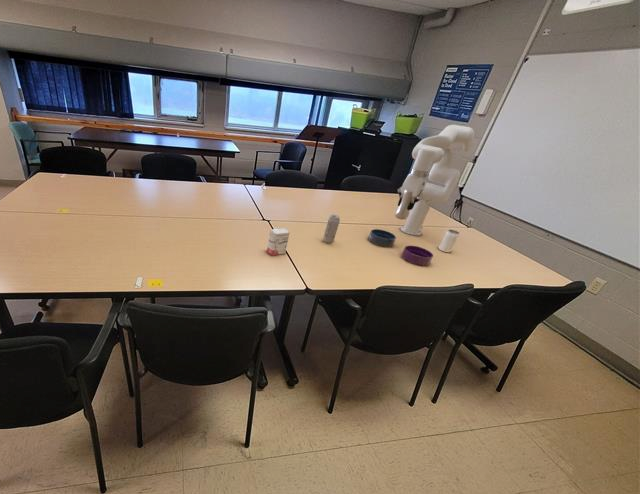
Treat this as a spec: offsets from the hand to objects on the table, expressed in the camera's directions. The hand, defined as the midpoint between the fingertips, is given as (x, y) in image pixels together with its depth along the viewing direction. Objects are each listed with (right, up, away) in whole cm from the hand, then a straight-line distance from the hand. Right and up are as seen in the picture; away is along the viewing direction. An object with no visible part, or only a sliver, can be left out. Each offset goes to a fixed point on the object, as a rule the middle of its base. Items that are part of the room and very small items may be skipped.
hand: (404, 207), depth 171 cm
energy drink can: (-40, -18, +8) cm, 44 cm away
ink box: (-71, -26, -11) cm, 76 cm away
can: (+33, -21, +17) cm, 43 cm away
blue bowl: (-6, -16, +17) cm, 24 cm away
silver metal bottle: (-1, -6, +4) cm, 7 cm away
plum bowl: (+6, -28, +1) cm, 29 cm away
